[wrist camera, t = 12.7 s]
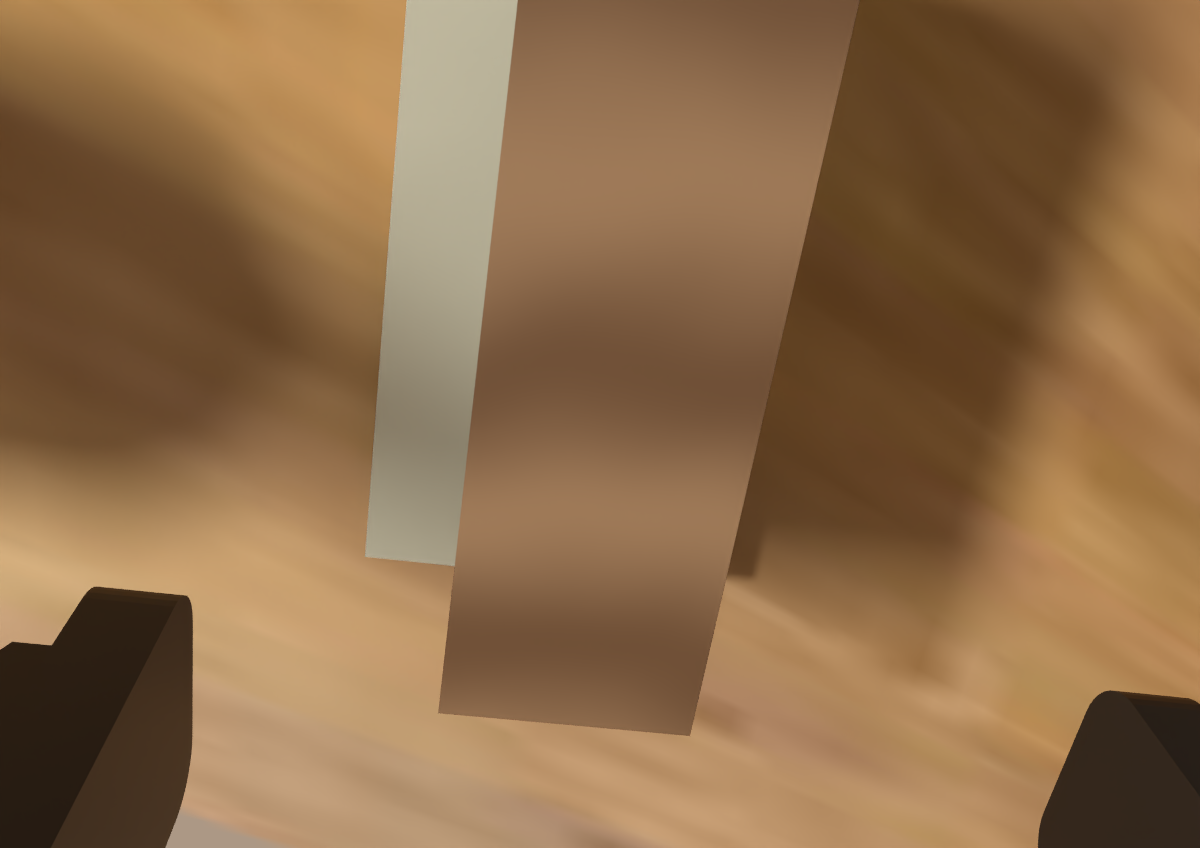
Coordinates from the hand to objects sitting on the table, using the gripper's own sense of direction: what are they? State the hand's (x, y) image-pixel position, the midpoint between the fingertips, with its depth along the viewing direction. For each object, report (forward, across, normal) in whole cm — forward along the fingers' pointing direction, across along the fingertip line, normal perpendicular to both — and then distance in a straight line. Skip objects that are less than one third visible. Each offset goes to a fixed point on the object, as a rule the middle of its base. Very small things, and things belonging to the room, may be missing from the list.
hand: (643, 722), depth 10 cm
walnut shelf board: (+15, -1, +1) cm, 15 cm away
